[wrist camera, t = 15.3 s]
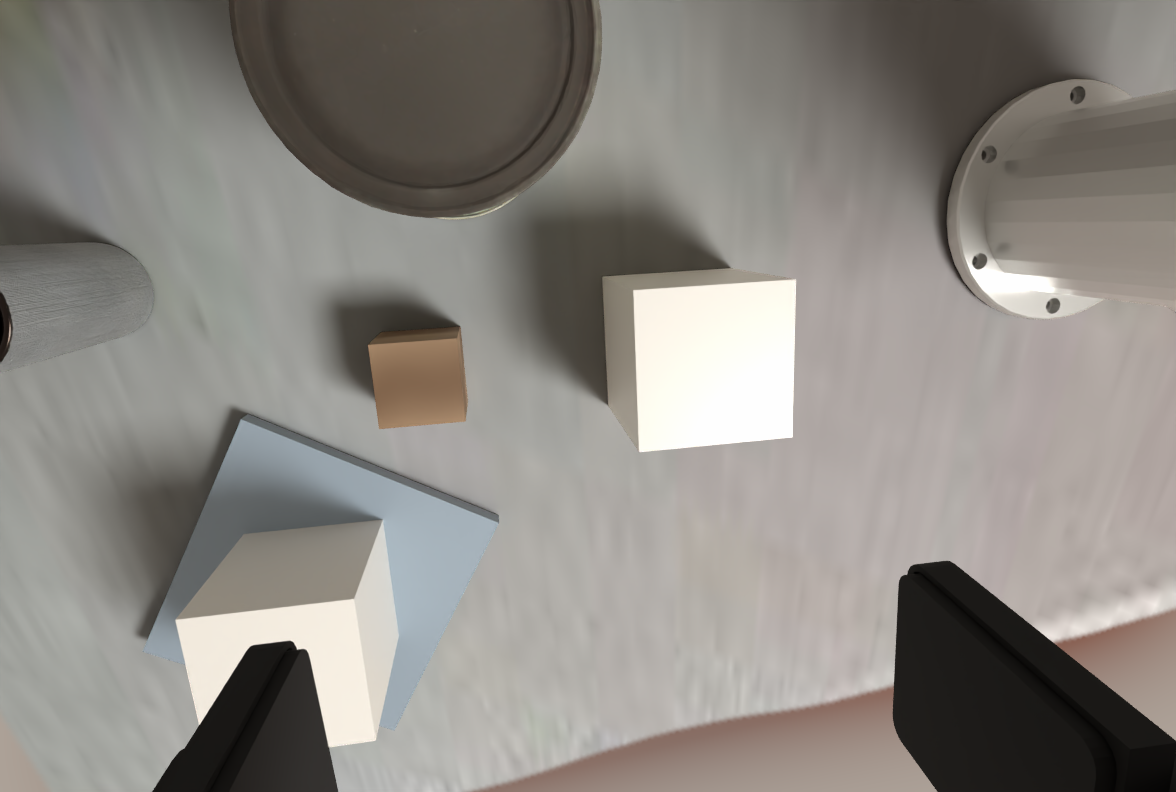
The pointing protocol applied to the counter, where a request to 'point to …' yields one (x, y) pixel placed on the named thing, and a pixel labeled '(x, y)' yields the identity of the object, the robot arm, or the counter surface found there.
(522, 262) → the counter surface
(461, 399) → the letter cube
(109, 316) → the grey cylinder
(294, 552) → the white box
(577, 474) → the counter surface
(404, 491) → the slate board
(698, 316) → the plain white cube box
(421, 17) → the coffee can
